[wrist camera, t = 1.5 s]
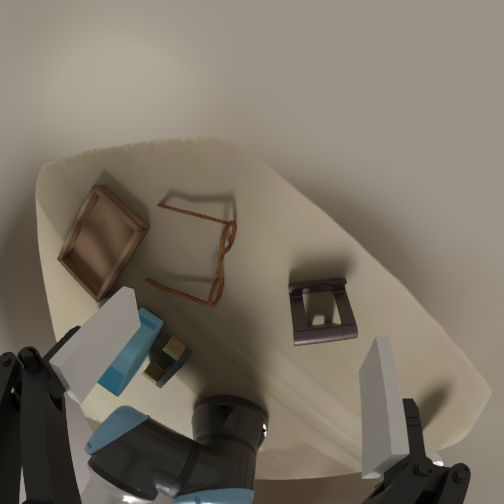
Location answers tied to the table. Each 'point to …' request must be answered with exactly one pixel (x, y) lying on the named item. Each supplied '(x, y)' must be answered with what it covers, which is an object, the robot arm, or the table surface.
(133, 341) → the data package
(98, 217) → the tray
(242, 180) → the table surface
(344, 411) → the table surface
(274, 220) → the table surface
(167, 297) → the table surface
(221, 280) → the glasses
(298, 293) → the portable electronic device stand
